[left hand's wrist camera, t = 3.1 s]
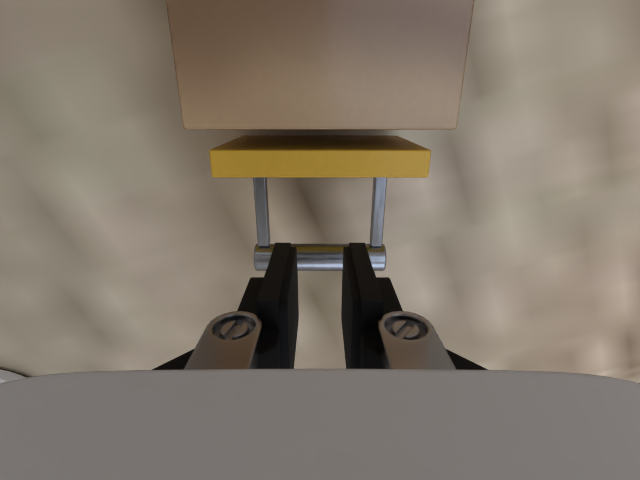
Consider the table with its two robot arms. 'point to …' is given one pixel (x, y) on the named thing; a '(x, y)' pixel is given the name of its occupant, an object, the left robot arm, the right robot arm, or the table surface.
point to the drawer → (320, 161)
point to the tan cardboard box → (320, 63)
